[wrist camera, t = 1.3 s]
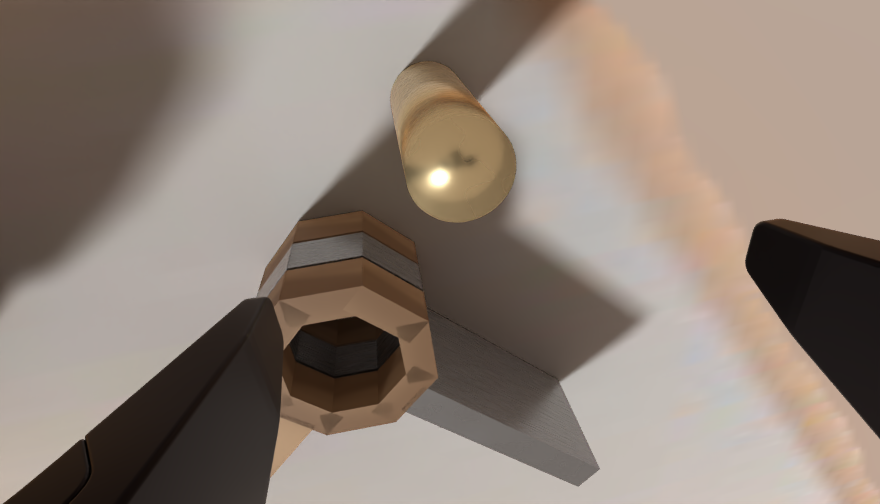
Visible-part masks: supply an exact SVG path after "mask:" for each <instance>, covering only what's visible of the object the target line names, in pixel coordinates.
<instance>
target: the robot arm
mask: <svg viewBox="0 0 880 504" xmlns="http://www.w3.org/2000/svg"><path fill="white" fill-rule="evenodd" d="M745 264H746V269H747V271H748V273H749V275H750V276H751V278H752V279H753V280H754V282H755V283H756V285H757V286H758V288H759V289H760V291H761V292H762V293H763V295H764V296H765V298H766V299H767V301H768V302H769V304H770V305H771V306H772V308H773V309H774V311H775V312H776V314H777V315H778V317H779V318H780V319H781V321H782V322H783V324H784V325H785V327H786V328H787V329H788V331H789V332H790V333H791V335H792V336H793V337H794V339H795V340H796V341H797V342H798V343H799V345H800V346H801V347H802V348H803V349H804V351H805V352H806V353H807V354H808V355H809V356H810V358H811V359H812V360H813V361H814V362H815V363H816V365H817V366H818V367H819V368H820V369H821V371H822V372H823V373H824V374H825V375H826V376H827V377H828V379H829V380H830V381H831V382H832V383H833V385H834V386H835V387H836V388H837V389H838V390H839V392H840V393H841V394H842V395H843V396H844V397H845V399H846V400H847V401H848V402H849V403H850V404H851V406H852V407H853V408H854V409H855V410H856V412H857V413H858V414H859V415H860V416H861V417H862V419H863V420H864V421H865V422H866V423H867V424H868V426H869V427H870V428H871V429H872V430H873V431H874V433H875V434H876V435H877V436H878V437H879V439H880V241H879V240H874V239H870V238H866V237H861V236H856V235H852V234H848V233H843V232H839V231H835V230H830V229H826V228H821V227H816V226H812V225H808V224H803V223H799V222H795V221H790V220H786V219H774V220H768V221H762V222H759V223H758V224H757V225H756V226H755V227H754V230H753V232H752V236H751V240H750V244H749V248H748V251H747V255H746V260H745ZM283 350H284V341H283V334H282V331H281V328H280V324H279V321H278V318H277V315H276V312H275V309H274V306H273V303H272V301H271V300H270V298H268V297H266V296H264V297H257V298H250V299H246V300H244V301H242V302H241V303H240V304H239V305H237V306H236V307H235V308H234V309H233V310H232V311H230V312H229V313H228V314H227V315H226V316H225V317H223V318H222V319H221V320H220V321H219V322H218V323H216V324H215V325H214V326H213V327H212V328H211V329H209V330H208V331H207V332H206V333H205V334H204V335H202V336H201V337H200V338H199V339H198V340H197V341H195V342H194V343H193V344H192V345H191V346H190V347H188V348H187V349H186V350H185V351H184V352H183V353H181V354H180V355H179V356H178V357H177V358H176V359H174V360H173V361H172V362H171V363H170V364H169V365H167V366H166V367H165V368H164V369H163V370H161V371H160V372H159V373H158V374H157V375H156V376H154V377H153V378H152V379H151V380H150V381H149V382H147V383H146V384H145V385H144V386H143V387H142V388H140V389H139V390H138V391H137V392H136V393H135V394H133V395H132V396H131V397H130V398H129V399H128V400H126V401H125V402H124V403H123V404H122V405H121V406H119V407H118V408H117V409H116V410H115V411H113V412H112V413H111V414H110V415H109V416H108V417H106V418H105V419H104V420H103V421H102V422H101V423H99V424H98V425H97V426H96V427H95V428H94V429H92V430H91V431H90V432H89V433H88V434H87V435H86V436H85V440H84V439H82V440H79V441H78V442H77V443H76V444H75V445H74V446H72V447H71V448H70V449H69V450H68V451H67V452H65V453H64V454H63V455H62V456H61V457H60V458H58V459H57V460H56V461H55V462H54V463H52V464H51V465H50V466H49V467H48V468H46V469H45V470H44V471H43V472H42V473H40V474H39V475H38V476H37V477H36V478H34V479H33V480H32V481H31V482H29V483H28V484H27V485H26V486H25V487H23V488H22V489H21V490H20V491H19V492H17V493H16V494H15V495H13V496H12V497H11V498H10V499H8V500H7V501H6V502H4V503H3V504H265V503H266V498H267V492H268V486H269V481H270V475H271V469H272V464H273V458H274V453H275V447H276V441H277V436H278V429H279V422H280V410H281V391H282V370H283Z"/></svg>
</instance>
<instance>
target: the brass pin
mask: <svg viewBox="0 0 880 504" xmlns="http://www.w3.org/2000/svg"><path fill="white" fill-rule="evenodd" d="M390 103H391V110H392V115H393V119H394V124H395V129H396V134H397V139H398V144H399V149H400V154H401V159H402V164H403V169H404V174H405V179H406V184H407V188H408V191H409V193H410V195H411V197H412V199H413V200H414V202H415V203H416V204H417V206H418V207H419V208H420V209H421V210H423V211H424V212H425V213H427V214H428V215H430V216H432V217H434V218H436V219H439V220H442V221H446V222H467V221H472V220H475V219H478V218H480V217H483V216H485V215H487V214H488V213H490V212H491V211H493V210H494V209H495V208H496V207H498V205H499V204H500V203H501V202H502V201H503V200H504V199H505V197H506V196H507V195H508V193H509V191H510V189H511V187H512V185H513V182H514V179H515V174H516V156H515V152H514V149H513V147H512V144H511V142H510V141H509V139H508V137H507V136H506V135H505V134H504V132H503V131H502V130H501V129H500V127H499V126H498V125H497V124H496V123H495V121H494V120H493V119H492V118H491V117H490V115H489V114H488V113H487V112H486V111H485V109H484V108H483V107H482V106H481V105H480V103H479V102H478V101H477V100H476V98H475V97H474V96H473V95H472V94H471V92H470V91H469V90H468V89H467V88H466V86H465V85H464V84H463V83H462V82H461V80H460V79H459V78H458V77H457V76H456V74H455V73H454V72H453V71H452V70H451V69H449V68H448V67H447V66H445V65H443V64H440V63H437V62H432V61H424V62H419V63H416V64H413V65H411V66H409V67H408V68H406V69H405V70H404V71H403V72H401V73H400V75H399V76H398V77H397V79H396V80H395V82H394V84H393V87H392V90H391V96H390Z"/></svg>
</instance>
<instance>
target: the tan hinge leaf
mask: <svg viewBox="0 0 880 504" xmlns="http://www.w3.org/2000/svg"><path fill="white" fill-rule="evenodd" d="M360 232H363V233H365V234H367V235H368V236H370V237H372V238H373V239H375V240H377V241H379V242H380V243H382V244H384V245H385V246H387V247H389V248H390V249H392V250H394V251H396V252H397V253H399V254H401V255H402V256H404V257H406V258H407V259H409V260H411V261H413V262H414V263H416V264H418V259H417V254H416V249H415V243H414V242H413V241H411V240H410V239H408V238H407V237H405V236H403V235H402V234H400V233H398V232H397V231H395V230H393V229H392V228H390V227H388V226H387V225H385V224H384V223H382V222H380V221H379V220H377V219H375V218H374V217H372V216H370V215H369V214H367V213H366V212H364V211H357V212H351V213H346V214H340V215H334V216H328V217H322V218H316V219H310V220H304V221H298V223H297V224H296V225H295V227H294V228H293V230H292V231H291V233H290V234H289V235H288V237H287V238H286V240H285V241H284V243H283V244H282V245H281V247H280V248H279V250H278V251H277V253H276V254H275V255H274V257H273V258H272V260H271V261H270V263H269V264H268V265H267V267H266V268H265V272H264V275H263V278H262V281H261V284H260V288H259V291H260V289H261V288H262V287H263V285H264V284H265V282H266V281H267V280H268V278H269V277H270V275H271V274H272V273H273V271H274V270H275V268H276V267H277V265H278V264H279V263H280V261H281V260H282V258H283V257H284V256H285V254H286V253H287V251H288V250H289V249H290V247H291V246H292V244H295V243H301V242H307V241H313V240H319V239H325V238H331V237H337V236H342V235H348V234H354V233H360ZM268 298H270V300H271V301H272V303H273V306H274V309H275V312H276V315H277V318H278V321H279V324H280V328H281V331H282V334H283V341H284V350H283V370H282V391H281V410H280V422H279V429H278V436H277V441H276V447H275V453H274V458H273V464H272V469H271V475H270V478H271V476H272V475H273V474H274V473H275V472H276V471H277V470H278V468H279V467H280V466H281V465H282V464H283V463H284V462H285V460H286V459H287V458H288V457H289V456H290V455H291V453H292V452H293V451H294V450H295V449H296V448H297V447H298V445H299V444H300V443H301V442H302V441H303V440H304V439H305V437H306V436H307V435H308V434H309V433H310V432H311V431H312V430H315V431H317V432H320V433H323V434H325V435H330V434H336V433H341V432H346V431H351V430H356V429H362V428H367V427H372V426H377V425H382V424H388V423H393V422H396V421H397V420H398V419H399V418H400V417H401V416H402V415H403V414H404V413H405V412H406V411H407V410H408V409H409V408H410V407H411V406H412V405H413V403H414V402H415V401H416V400H417V399H418V397H420V396H421V394H423V393H424V392H425V391H426V389H428V388H429V387H430V386H431V385H432V384H433V383H434V381H435V380H436V379H437V378H438V372H437V367H436V361H435V356H434V350H433V344H432V338H431V332H430V326H429V318H428V313H427V308H426V302H425V297H424V292H423V291H421V290H419V289H417V288H416V287H414V286H412V285H410V284H409V283H407V282H405V281H403V280H401V279H400V278H398V277H396V276H394V275H393V274H391V273H389V272H387V271H386V270H384V269H382V268H380V267H378V266H377V265H375V264H373V263H371V262H370V261H368V260H366V259H364V258H357V259H351V260H346V261H340V262H334V263H328V264H323V265H317V266H311V267H305V268H299V269H294V270H288V271H287V270H286V271H285V273H284V275H283V276H282V277H281V279H280V280H279V281H278V283H277V284H276V286H275V287H274V288H273V290H272V291H271V293H270V294H269V295H268ZM352 316H357V317H352ZM347 317H352V318H347ZM341 318H346V319H341ZM337 319H341V320H337ZM300 329H301V331H303V332H305V333H308V334H310V335H312V336H314V337H316V338H318V339H320V340H323V341H325V342H327V343H329V344H331V345H333V346H335V347H340V346H345V345H351V344H356V343H362V342H367V341H373V340H377V338H378V337H379V336H380V335H381V334H382V333H383V331H386V332H388V333H390V334H392V335H394V336H396V337H398V338H399V343H400V346H399V347H398V348H397V349H396V350H395V351H394V352H393V354H392V355H391V356H390V357H389V358H388V359H387V360H386V362H385V363H384V364H383V365H382V366H381V367H380V368H379V369H378V371H373V372H367V373H362V374H357V375H351V376H346V377H341V378H335V379H334V378H332V377H330V376H327V375H325V374H323V373H320V372H318V371H316V370H314V369H311V368H309V367H307V366H304V365H302V364H300V363H298V362H296V361H295V358H294V356H293V353H292V350H291V347H290V345H289V343H290V341H291V340H292V339H293V337H294V336H295V335H296V334H297V332H298V331H299V330H300ZM424 387H425V388H424ZM421 392H422V393H421ZM416 395H417V396H416ZM413 396H414V397H413ZM410 399H411V400H412V401H413V402H412V401H411V400H410ZM414 400H415V401H414ZM407 402H408V403H407ZM411 402H412V403H411Z"/></svg>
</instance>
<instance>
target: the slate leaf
mask: <svg viewBox="0 0 880 504" xmlns="http://www.w3.org/2000/svg"><path fill="white" fill-rule="evenodd" d="M357 258H364V259H366V260H368V261H370V262H371V263H373V264H375V265H377V266H378V267H380V268H382V269H384V270H386V271H387V272H389V273H391V274H393V275H394V276H396V277H398V278H400V279H401V280H403V281H405V282H407V283H409V284H410V285H412V286H414V287H416V288H417V289H419V290H421V291H423V286H422V281H421V275H420V270H419V265H418V264H416V263H414V262H413V261H411V260H409V259H407V258H406V257H404V256H402V255H401V254H399V253H397V252H396V251H394V250H392V249H390V248H389V247H387V246H385V245H384V244H382V243H380V242H379V241H377V240H375V239H373V238H372V237H370V236H368V235H367V234H365V233H363V232H360V233H354V234H348V235H342V236H337V237H331V238H325V239H319V240H313V241H307V242H301V243H295V244H292V246H291V247H290V249H289V250H288V251H287V253H286V254H285V256H284V257H283V258H282V260H281V261H280V263H279V264H278V265H277V267H276V268H275V270H274V271H273V273H272V274H271V275H270V277H269V278H268V280H267V281H266V282H265V284H264V285H263V287H262V288H261V289H260V291H259V292H258V294H257V297H264V296H266V297H268V295H269V294H270V293H271V291H272V290H273V288H274V287H275V286H276V284H277V283H278V281H279V280H280V279H281V277H282V276H283V275H284V273H285V271H286V270H287V271H288V270H294V269H299V268H305V267H311V266H317V265H323V264H328V263H334V262H340V261H346V260H351V259H357ZM257 297H256V298H257ZM427 313H428V318H429V326H430V332H431V338H432V344H433V350H434V356H435V361H436V367H437V372H438V378H437V379H436V380H435V381H434V383H433V384H432V385H431V386H430V387H429V388H428V389H426V391H425V392H424V393H423V394H421V396H420V397H418V399H417V400H416V401H415V400H414V401H415V402H414V403H413V405H412V406H411V407H410V408H409V409H408V410H407V411H406V412H407V413H410V414H412V415H414V416H416V417H419V418H421V419H423V420H426V421H428V422H430V423H433V424H435V425H437V426H440V427H442V428H444V429H446V430H449V431H451V432H453V433H456V434H458V435H460V436H463V437H465V438H467V439H470V440H472V441H474V442H476V443H479V444H481V445H483V446H486V447H488V448H490V449H493V450H495V451H497V452H499V453H502V454H504V455H506V456H509V457H511V458H513V459H516V460H518V461H520V462H523V463H525V464H527V465H529V466H532V467H534V468H536V469H539V470H541V471H543V472H546V473H548V474H550V475H552V476H555V477H557V478H559V479H562V480H564V481H566V482H569V483H571V484H573V485H576V486H580V485H581V484H582V483H583V482H584V481H586V480H587V479H588V478H589V477H591V476H592V475H593V474H594V473H596V472H597V471H598V470H599V469H600V468H599V466H598V464H597V462H596V460H595V458H594V455H593V453H592V451H591V449H590V447H589V445H588V443H587V440H586V438H585V436H584V434H583V432H582V430H581V428H580V426H579V423H578V421H577V419H576V417H575V415H574V413H573V411H572V409H571V406H570V404H569V402H568V400H567V398H566V396H565V394H564V391H563V389H562V387H561V385H560V383H559V381H558V380H557V379H556V378H554V377H552V376H550V375H548V374H546V373H545V372H543V371H541V370H539V369H537V368H536V367H534V366H532V365H530V364H528V363H526V362H525V361H523V360H521V359H519V358H517V357H516V356H514V355H512V354H510V353H508V352H506V351H505V350H503V349H501V348H499V347H497V346H496V345H494V344H492V343H490V342H488V341H486V340H485V339H483V338H481V337H479V336H477V335H476V334H474V333H472V332H470V331H468V330H466V329H465V328H463V327H461V326H459V325H457V324H456V323H454V322H452V321H450V320H448V319H446V318H445V317H443V316H441V315H439V314H437V313H436V312H434V311H432V310H430V309H428V308H427ZM289 345H290V347H291V350H292V353H293V356H294V358H295V361H296V362H298V363H300V364H302V365H304V366H307V367H309V368H311V369H314V370H316V371H318V372H320V373H323V374H325V375H327V376H330V377H332V378H334V379H335V378H341V377H346V376H351V375H357V374H362V373H367V372H373V371H378V369H379V368H380V367H381V366H382V365H383V364H384V363H385V362H386V360H387V359H388V358H389V357H390V356H391V355H392V354H393V352H394V351H395V350H396V349H397V348H398V347H399V346H400V343H399V338H398V337H396V336H394V335H392V334H390V333H388V332H386V331H383V333H382V334H381V335H380V336H379V337H378V338H377V340H373V341H367V342H362V343H356V344H351V345H345V346H340V347H335V346H333V345H331V344H329V343H327V342H325V341H323V340H320V339H318V338H316V337H314V336H312V335H310V334H308V333H305V332H303V331H301V329H300V330H299V331H298V332H297V334H296V335H295V336H294V337H293V339H292V340H291V341H290V343H289ZM424 388H425V387H424ZM421 393H422V392H421ZM416 396H417V395H416ZM413 397H414V396H413ZM410 400H411V399H410ZM411 401H412V400H411ZM412 402H413V401H412ZM412 402H411V403H412ZM407 403H408V402H407Z"/></svg>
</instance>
